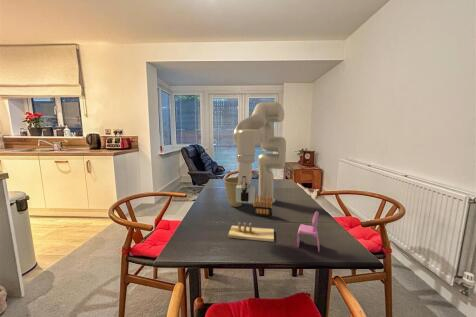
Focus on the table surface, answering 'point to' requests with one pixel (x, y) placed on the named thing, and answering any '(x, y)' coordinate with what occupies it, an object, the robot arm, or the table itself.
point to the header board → (251, 233)
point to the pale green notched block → (250, 194)
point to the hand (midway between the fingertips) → (245, 198)
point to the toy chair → (309, 229)
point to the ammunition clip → (262, 206)
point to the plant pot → (232, 190)
